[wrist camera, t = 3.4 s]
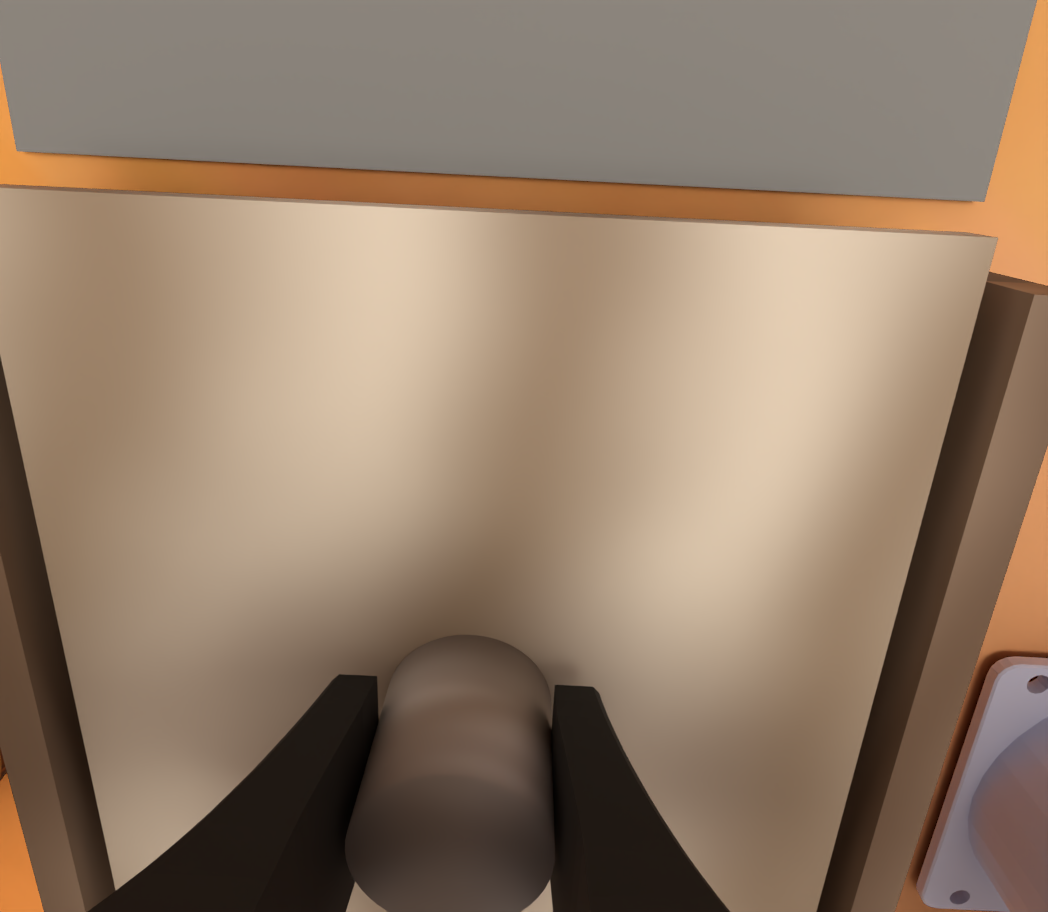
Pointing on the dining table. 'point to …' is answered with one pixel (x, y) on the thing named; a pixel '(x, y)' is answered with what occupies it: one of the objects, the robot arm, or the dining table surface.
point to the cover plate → (479, 509)
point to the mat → (532, 87)
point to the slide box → (899, 703)
